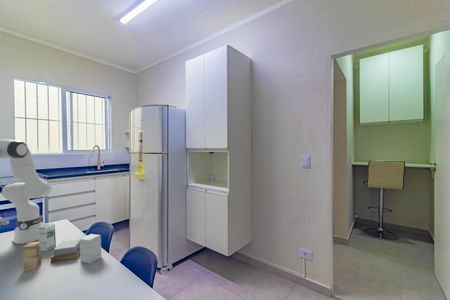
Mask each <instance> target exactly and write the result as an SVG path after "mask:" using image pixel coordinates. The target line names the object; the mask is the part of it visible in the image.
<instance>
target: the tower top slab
mask: <svg viewBox="0 0 450 300" xmlns="http://www.w3.org/2000/svg"><path fill="white" fill-rule="evenodd" d="M79 247H80V240H79V239H75V240H66V241H61V242H60V243H58V244H57V245H56V247H54V248H52V252H53V253H52V254H53V256H57V255H65V254H72V253H75V252H76V251H77V250H78V249H79Z"/></svg>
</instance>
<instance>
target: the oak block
mask: <svg viewBox="0 0 450 300" xmlns="http://www.w3.org/2000/svg"><path fill="white" fill-rule="evenodd" d="M41 254H42V252H41V247H40V242H39V241H33V242H29V243H26V244H25V245H24V246H22V258H23V259H22V260H23V261H22V262H23V271H30V270H31V271H32V270H37V269H38V268H39V266H40V265H42V255H41Z"/></svg>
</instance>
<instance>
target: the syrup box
mask: <svg viewBox="0 0 450 300" xmlns="http://www.w3.org/2000/svg"><path fill="white" fill-rule="evenodd" d="M45 224H46V225H43V226H41V227H38V232H39V240H38V242H40V247H41V251H42V252H48V251H49V250H51V249H52V250H53V249H55V248H56V247H57V244H56V243H57V242H56V225H55V224H54V223H45Z"/></svg>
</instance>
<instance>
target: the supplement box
mask: <svg viewBox="0 0 450 300" xmlns="http://www.w3.org/2000/svg"><path fill="white" fill-rule="evenodd" d="M101 236H102V235H101V234H94V233H90V234H88V235H85V236H84V237H82V238H79V239H78V240H80V255H79V259H80V261H79V262H80V263H86V264H92V263H94V262H95V261H97V260H98V259H100V258H102V237H101Z"/></svg>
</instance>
